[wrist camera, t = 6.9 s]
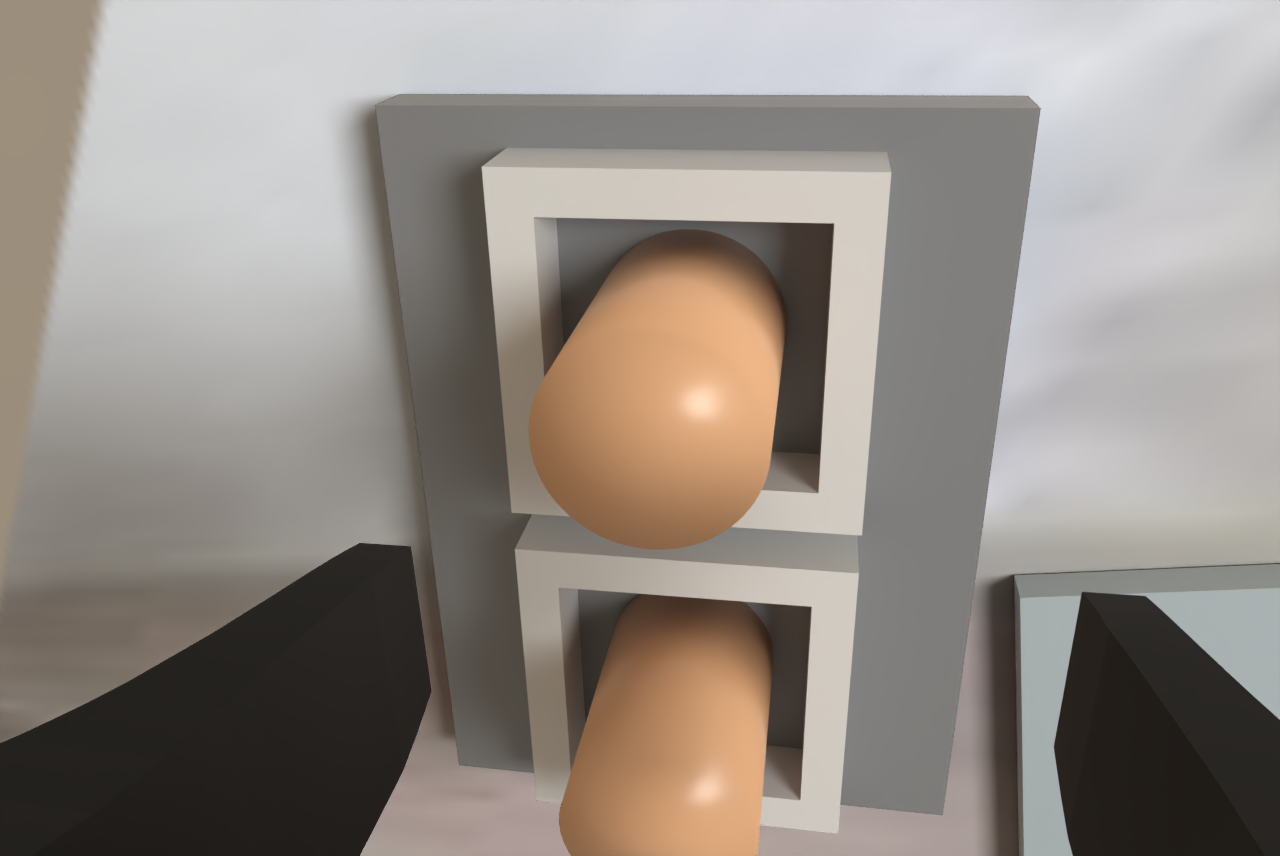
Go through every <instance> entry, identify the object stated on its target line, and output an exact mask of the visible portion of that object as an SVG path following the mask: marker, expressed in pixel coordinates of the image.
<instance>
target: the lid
mask: <svg viewBox="0 0 1280 856" xmlns="http://www.w3.org/2000/svg"><path fill="white" fill-rule="evenodd" d="M1082 592H1094V593H1109V594H1124V595H1139V596H1146V597H1147V598H1149V599H1150V600H1151V601H1152V602H1153V603H1154V604H1155V605H1157V606H1158V607H1159V608H1160V609H1161V610H1162V611H1163V612H1164V613H1165V614H1166V615H1167V616H1169V617H1170V618H1171V619H1172V620H1173V621H1174V622H1175V623H1176V624H1177V625H1178V626H1179V627H1180V628H1181V629H1182V630H1183V631H1184V632H1186V633H1187V634H1188V635H1189V636H1190V637H1191V638H1192V639H1193V640H1194V641H1195V642H1196V643H1197V644H1198V645H1199V646H1200V647H1201V648H1202V649H1203V650H1205V651H1206V652H1207V653H1208V654H1209V655H1210V656H1211V657H1212V658H1213V659H1214V660H1215V661H1216V662H1217V663H1218V664H1219V665H1220V666H1222V667H1223V668H1224V669H1225V670H1226V671H1227V672H1228V673H1229V674H1230V675H1231V676H1232V677H1233V678H1234V679H1235V680H1237V681H1238V682H1239V683H1240V684H1241V685H1242V686H1243V687H1244V688H1245V689H1246V690H1247V691H1249V692H1250V693H1251V694H1252V695H1253V696H1254V697H1255V698H1256V699H1257V700H1258V701H1260V702H1261V703H1262V704H1263V705H1264V706H1265V707H1266V708H1267V709H1268V710H1270V711H1271V712H1272V713H1273V714H1274V715H1275V716H1276V717H1277V718H1278V719H1280V564H1267V565H1243V566H1220V567H1197V568H1173V569H1150V570H1127V571H1103V572H1080V573H1057V574H1033V575H1014V595H1015V654H1016V712H1017V771H1018V830H1019V856H1073V854H1072V851H1071V847H1070V844H1069V840H1068V836H1067V830H1066V824H1065V818H1064V812H1063V806H1062V800H1061V794H1060V787H1059V780H1058V773H1057V766H1056V760H1055V753H1054V742H1055V737H1056V731H1057V726H1058V720H1059V715H1060V709H1061V704H1062V698H1063V693H1064V687H1065V682H1066V676H1067V671H1068V665H1069V660H1070V654H1071V649H1072V644H1073V638H1074V633H1075V627H1076V622H1077V616H1078V611H1079V605H1080V600H1081V594H1082Z"/></svg>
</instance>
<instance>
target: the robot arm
mask: <svg viewBox="0 0 1280 856" xmlns="http://www.w3.org/2000/svg"><path fill="white" fill-rule="evenodd" d="M430 693H431V685H430V678H429V671H428V664H427V657H426V650H425V643H424V636H423V629H422V622H421V615H420V608H419V601H418V594H417V587H416V580H415V573H414V566H413V559H412V552H411V547H410V546H395V545H381V544H366V543H359V544H357V545H355V546H354V547H352V548H350V549H348V550H346V551H344V552H342V553H341V554H339V555H337V556H335V557H334V558H332V559H330V560H329V561H327V562H325V563H324V564H322V565H321V566H319V567H317V568H316V569H314V570H312V571H311V572H309V573H308V574H306V575H305V576H303V577H301V578H300V579H298V580H297V581H295V582H293V583H292V584H290V585H289V586H287V587H286V588H284V589H282V590H281V591H279V592H278V593H276V594H275V595H273V596H271V597H270V598H268V599H267V600H265V601H263V602H262V603H260V604H259V605H257V606H255V607H254V608H252V609H251V610H249V611H247V612H246V613H244V614H243V615H241V616H239V617H238V618H236V619H235V620H233V621H231V622H230V623H228V624H227V625H225V626H223V627H222V628H220V629H219V630H217V631H215V632H214V633H212V634H210V635H209V636H207V637H205V638H203V639H202V640H200V641H198V642H196V643H195V644H193V645H191V646H189V647H188V648H186V649H184V650H183V651H181V652H179V653H177V654H176V655H174V656H172V657H170V658H169V659H167V660H165V661H163V662H162V663H160V664H158V665H156V666H155V667H153V668H151V669H149V670H148V671H146V672H144V673H142V674H141V675H139V676H137V677H135V678H134V679H132V680H130V681H128V682H127V683H125V684H123V685H121V686H119V687H117V688H115V689H113V690H111V691H110V692H108V693H106V694H104V695H102V696H100V697H98V698H96V699H94V700H92V701H90V702H88V703H86V704H84V705H82V706H80V707H78V708H76V709H74V710H72V711H70V712H68V713H65V714H63V715H61V716H59V717H57V718H55V719H53V720H51V721H49V722H46V723H44V724H42V725H40V726H38V727H36V728H34V729H32V730H30V731H27V732H25V733H23V734H21V735H18V736H16V737H14V738H12V739H9V740H7V741H5V742H2V743H0V856H360V854H361V852H362V850H363V848H364V846H365V844H366V842H367V841H368V839H369V837H370V835H371V833H372V831H373V829H374V827H375V825H376V823H377V821H378V819H379V817H380V815H381V813H382V811H383V809H384V807H385V805H386V804H387V802H388V800H389V798H390V796H391V794H392V792H393V790H394V788H395V786H396V784H397V782H398V780H399V778H400V776H401V774H402V772H403V770H404V767H405V764H406V762H407V759H408V756H409V754H410V751H411V748H412V746H413V743H414V740H415V737H416V735H417V732H418V729H419V726H420V723H421V720H422V717H423V714H424V711H425V708H426V705H427V702H428V699H429V696H430ZM1054 753H1055V760H1056V766H1057V773H1058V780H1059V787H1060V794H1061V800H1062V806H1063V812H1064V818H1065V824H1066V830H1067V836H1068V840H1069V844H1070V847H1071V851H1072V854H1073V856H1280V719H1278V718H1277V717H1276V716H1275V715H1274V714H1273V713H1272V712H1271V711H1270V710H1268V709H1267V708H1266V707H1265V706H1264V705H1263V704H1262V703H1261V702H1260V701H1258V700H1257V699H1256V698H1255V697H1254V696H1253V695H1252V694H1251V693H1250V692H1249V691H1247V690H1246V689H1245V688H1244V687H1243V686H1242V685H1241V684H1240V683H1239V682H1238V681H1237V680H1235V679H1234V678H1233V677H1232V676H1231V675H1230V674H1229V673H1228V672H1227V671H1226V670H1225V669H1224V668H1223V667H1222V666H1220V665H1219V664H1218V663H1217V662H1216V661H1215V660H1214V659H1213V658H1212V657H1211V656H1210V655H1209V654H1208V653H1207V652H1206V651H1205V650H1203V649H1202V648H1201V647H1200V646H1199V645H1198V644H1197V643H1196V642H1195V641H1194V640H1193V639H1192V638H1191V637H1190V636H1189V635H1188V634H1187V633H1186V632H1184V631H1183V630H1182V629H1181V628H1180V627H1179V626H1178V625H1177V624H1176V623H1175V622H1174V621H1173V620H1172V619H1171V618H1170V617H1169V616H1167V615H1166V614H1165V613H1164V612H1163V611H1162V610H1161V609H1160V608H1159V607H1158V606H1157V605H1155V604H1154V603H1153V602H1152V601H1151V600H1150V599H1149V598H1147V597H1146V596H1139V595H1124V594H1109V593H1094V592H1082V594H1081V600H1080V605H1079V611H1078V616H1077V622H1076V627H1075V633H1074V638H1073V644H1072V649H1071V654H1070V660H1069V665H1068V671H1067V676H1066V682H1065V687H1064V693H1063V698H1062V704H1061V709H1060V715H1059V720H1058V726H1057V731H1056V737H1055V742H1054Z"/></svg>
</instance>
